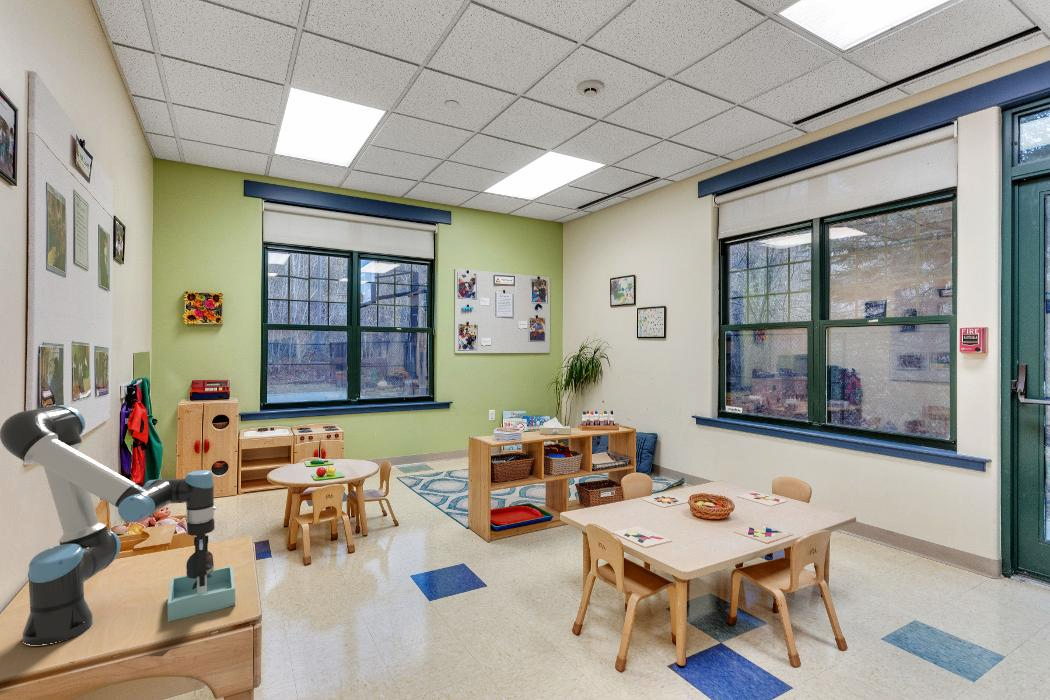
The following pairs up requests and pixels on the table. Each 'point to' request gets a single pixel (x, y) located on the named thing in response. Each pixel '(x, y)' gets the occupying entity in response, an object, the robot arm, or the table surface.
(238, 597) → the table surface
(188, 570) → the toy
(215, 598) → the bin
